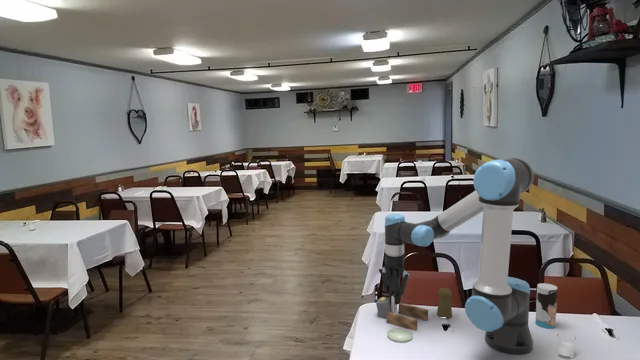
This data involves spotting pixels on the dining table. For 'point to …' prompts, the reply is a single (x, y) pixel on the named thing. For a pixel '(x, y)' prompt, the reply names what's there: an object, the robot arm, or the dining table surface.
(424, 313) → the guide channel
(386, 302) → the plug
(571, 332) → the dining table surface
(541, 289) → the cup
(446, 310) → the cork
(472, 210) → the robot arm
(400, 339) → the saucer
